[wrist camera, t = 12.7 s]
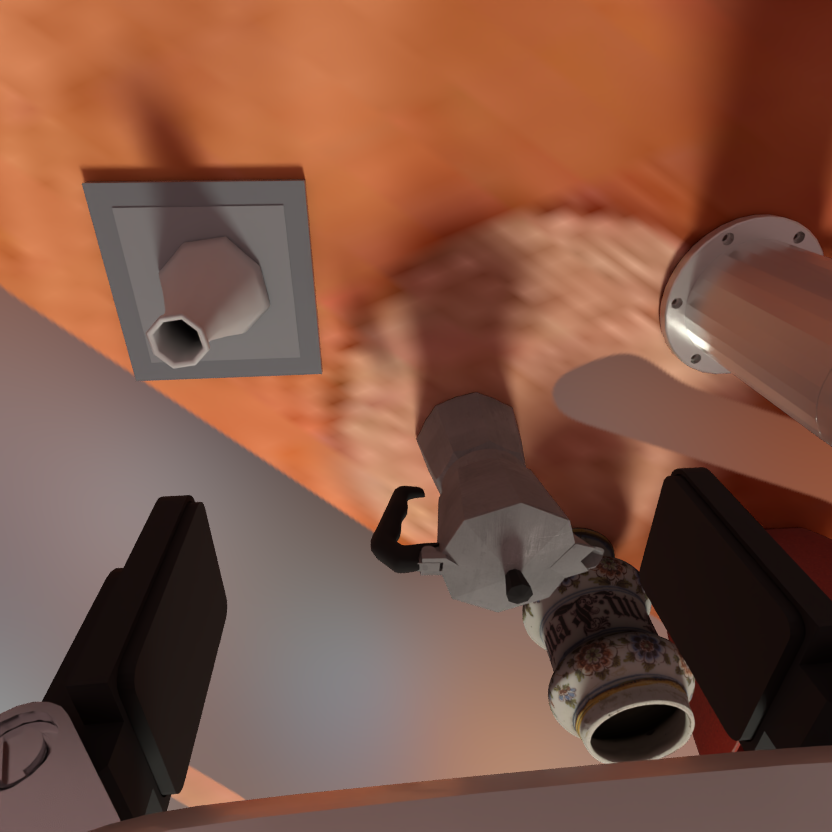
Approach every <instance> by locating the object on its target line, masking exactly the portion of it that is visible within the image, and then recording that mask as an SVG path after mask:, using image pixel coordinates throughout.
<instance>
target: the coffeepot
mask: <svg viewBox="0 0 832 832" xmlns="http://www.w3.org/2000/svg"><path fill="white" fill-rule="evenodd" d="M416 439H417V442H418V445H419V447H420V450H421V452H422V455H423V458H424V460H425V463H426V465H427V468H428V470H429V472H430V475H431V477H432V479H433V481H434V483H435V485H436V487H437V489H438V491H439V493H440V497H439V503H438V537H437V543H423V544H415V545H401V544H399V543H398V542H397V541H398V539H399V537H400V534H401V523H402V521H403V519H404V518H405V517H406V515H407V509H408V505H407V501H408V500H409V499H413V498H419V497H425V493H424V491H423V489H422V488H420V487H412V486H400V487H398V488H397V489H395V491H394V493H393V495H392V497H391V499H390V501H389V503H388V506H387V508H386V510H385V512H384V514H383V516H382V518H381V520H380V523H379V525H378V527H377V529H376V530H375V532H374V534H373V536H372V539H371V551H372V552H373V553H374V555H375V556H376V558H377V559H378V560H380V561H381V562H382V563H384V564H385V565H387V566H388V567H389V568H390V569H392V570H393V571H394V572H397V573H409V572H414V571H420V575H442V576H443V579H444V581H445V583H446V586H447V588H448V590H449V593H450V595H451V597H452V599H455V600H458V601H461V602H465V603H468V604H471V605H475V606H479V607H482V608H485V609H489V610H492V611H495V612H501V611H504V610H507V609H511V608H514V607H518V606H521V605H525V604H528V603H531V602H535V601H538V600H542V599H545V598H548V597H550V595H551V594H552V593H553V592H554V591H555V589H556V588H557V587H558V586H559V585H560V583H561V582H562V581H563V580H564V578H567V577H570V576H573V575H577V574H580V573H583V572H587V571H589V570H588V569H591V568H595V567H596V566H597V565H598V564H599V562H600V561H601V559H602V557H603V553H604V550H603V549H602V548H599V547H595V546H591V545H589V544H588V543H586V542H585V541H583V540H582V539H580V538H579V537H578V536H576V535H575V534H573V532H572V528H571V524H570V520H569V519H568V517H567V516H566V515H565V513H564V512H563V511H562V510H561V508H560V507H559V506H558V504H557V503H556V502H555V501H554V499H553V498H552V497H551V495H550V494H549V493H548V492H547V490H546V489H545V488H544V486H543V485H542V484H541V483H540V481H539V480H538V479H537V478H536V476H535V475H534V474H533V472H532V471H531V470H530V469H528V468H526V465H525V459H524V453H523V447H522V441H521V438H520V434H519V430H518V426H517V423H516V419H515V415H514V412H513V408H512V407H510V406H508V405H506V404H503V403H501V402H500V401H498V400H496V399H494V398H491V397H488V396H485V395H482V394H480V393H477V392H475V393H471V394H467V395H463V396H458V397H455V398H452V399H450V400H448V401H446V402H444V403H442V404H439V405H436V406H435V407H434V409H433V411H432V412H431V414H430V415H429V416H428V418H427V419H426V421H425V423H424V425H423V427H422V429H421V431H420V433H419V435H418V437H417V438H416Z"/></svg>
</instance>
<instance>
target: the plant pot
mask: <svg viewBox="0 0 832 832" xmlns="http://www.w3.org/2000/svg"><path fill="white" fill-rule="evenodd" d="M765 530H766V531H767V532H768V533H769V534H770V536H771V537H772V538H773V539H774V540H775V541H776V542H777V543H778V544H779V545H780V546H781V547H782V548H783V549H784V550H785V551H786V553H787V554H788V555H789V556H790V557H791V558H792V559H793V560H794V561H795V562H796V563H797V564H798V565H799V566H800V567H801V569H802V570H803V571H804V572H805V573H806V574H807V575H808V576H809V577H810V578H811V579H812V580H813V581H814V582H815V583H816V584H817V586H818V587H819V588H820V589H821V590H822V591H823V592H824V593H825V594H826V595H827V596H828V597H829V598H830V599H831V600H832V539H829V538H827V537H825V536H823V535H820V534H817V533H815V532H812V531H810V530H807V529H804V528H783V529H765ZM667 634H668V638H669V641H671V642H672V643H674V641H673V640H672V638H671V636H670V635H669V633H668V631H667ZM674 644H675V643H674ZM689 706H690V708H691V710H692V713H693V716H694V720H695V726H694V730H693V733H692V734H693V737H694V740H695V743H696V745H697V749H698V752H699V755H708V754H720V753H731V752H742V751H744V750H743V748H742V746H741V744H740V743H739V741H735V740H733V739H731V738H730V737H729V736H728V734H727V733H726V731H725V730H724V728H723V726H722V724H721V723H720V721H719V719H718V718H717V716H716V714H715V712H714V711H713V709H712V707H711V705H710V704H709V702H708V700H707V699H706V697H705V695H704V693H703V692H702V690H701V688H700V686H699V685H698V683H697V681H696V680H695V687H694V693H693V696H692V698H691V701H690V703H689Z"/></svg>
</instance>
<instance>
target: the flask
mask: <svg viewBox="0 0 832 832" xmlns="http://www.w3.org/2000/svg"><path fill="white" fill-rule="evenodd" d="M159 279H160V283H161V287H162V291H163V297H164V304H165V313H164V315H161V316H159V318H158V319H157V320H156V321H155V322H154V324H153V325H152V326H151V327H150V328H149V329H148V331H147V332H146V333H145V334H146V336H147V339H148V341H149V344H150V346H151V349H152V351H153V354H154V355H155V356H157V357H158V358H159V359H161V360H162V361H163V362H165V363H166V364H168V365H169V366H170V367H172V368H173V369H174V368H181V367H187V366H194V365H196V364H197V363H198V362H199V361H200V360H201V359H202V358H203V356H204V355H205V354H206V353H207V352H208V351H209V350H210V345H209V342H210V341H211V340H214V339H218V338H222V337H226V336H231V335H237V334H242V333H246V332H247V331H248V329H249V328H250V327H251V326H252V325H253V324H254V323H255V322H256V321H257V320H258V319H259V318H260V317H261V315H262V314H263V313H264V312H265V311H266V310H267V309H268V308H269V307H270V302H269V298H268V295H267V291H266V287H265V283H264V280H263V276H262V272H261V268H260V266H259V265H258V264H257V263H256V262H254V261H253V260H252V259H251V258H250V257H249V256H248V255H246V254H245V253H244V252H243V251H242V250H241V249H240V248H238V247H237V246H236V245H235V244H234V243H233V242H231V241H230V240H229V239H228V238H227V237H226V236H225V237H219V238H212V239H205V240H198V241H192V242H185V243H183V244H182V245H181V246H180V247H179V249H178V250H177V251H176V252H175V254H174V255H173V256H172V257H171V258H170V260H169V261H168V262H167V263H166V264H165V266H164V267H163V268H162V269H161V271H160V272H159Z"/></svg>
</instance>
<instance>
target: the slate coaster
mask: <svg viewBox="0 0 832 832" xmlns="http://www.w3.org/2000/svg"><path fill="white" fill-rule="evenodd" d="M82 186H83V189H84V193H85V197H86V200H87V204H88V208H89V211H90V215H91V219H92V222H93V226H94V229H95V233H96V237H97V240H98V244H99V248H100V251H101V255H102V259H103V262H104V266H105V269H106V273H107V277H108V280H109V284H110V288H111V291H112V295H113V299H114V302H115V306H116V309H117V313H118V317H119V320H120V324H121V328H122V331H123V335H124V339H125V342H126V346H127V349H128V353H129V357H130V360H131V364H132V368H133V371H134V375H135V379H136V381H150V380H176V379H201V378H227V377H253V376H279V375H305V374H322V359H321V348H320V337H319V326H318V315H317V304H316V293H315V282H314V271H313V260H312V249H311V238H310V227H309V216H308V205H307V194H306V183H305V179H278V180H189V181H100V182H84V183H82ZM225 236H226V237H227V238H228V239H229V240H230V241H231V242H233V243H234V244H235V245H236V246H237V247H238V248H240V249H241V250H242V251H243V252H244V253H245V254H246V255H248V256H249V257H250V258H251V259H252V260H253V261H254V262H256V263H257V264H258V265H259V266H260V268H261V272H262V276H263V280H264V283H265V287H266V291H267V295H268V298H269V302H270V307H269V308H268V309H267V310H266V311H265V312H264V313H263V314H262V315H261V317H260V318H259V319H258V320H257V321H256V322H255V323H254V324H253V325H252V326H251V327H250V328H249V329H248V331H247V332H246V333H242V334H237V335H231V336H226V337H222V338H218V339H214V340H211V341H210V342H209V345H210V350H209V351H208V352H207V353H206V354H205V355H204V356H203V358H202V359H201V360H200V361H199V362H198V363H197V364H196V365H194V366H187V367H181V368H174V369H173V368H172V367H170V366H169V365H168V364H166V363H165V362H163V361H162V360H161V359H159V358H158V357H157V356H155V355H154V354H153V351H152V349H151V346H150V344H149V341H148V339H147V336H146V334H145V333H146V332H147V331H148V329H149V328H150V327H151V326H152V325H153V324H154V322H155V321H156V320H157V319H158V318H159V316H161V315H164V313H165V304H164V297H163V291H162V287H161V283H160V279H159V272H160V271H161V269H162V268H163V267H164V266H165V264H166V263H167V262H168V261H169V260H170V258H171V257H172V256H173V255H174V254H175V252H176V251H177V250H178V249H179V247H180V246H181V245H182V244H183V243H185V242H192V241H198V240H205V239H212V238H219V237H225Z"/></svg>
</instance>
